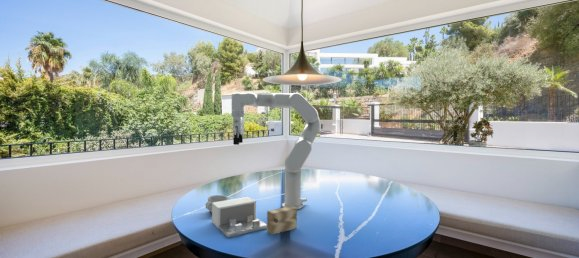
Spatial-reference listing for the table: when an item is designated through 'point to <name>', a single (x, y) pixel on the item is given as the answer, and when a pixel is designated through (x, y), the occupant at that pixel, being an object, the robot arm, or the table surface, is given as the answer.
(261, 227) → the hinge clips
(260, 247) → the table surface
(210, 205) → the teacup
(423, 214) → the table surface
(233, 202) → the cabinet
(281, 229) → the door
